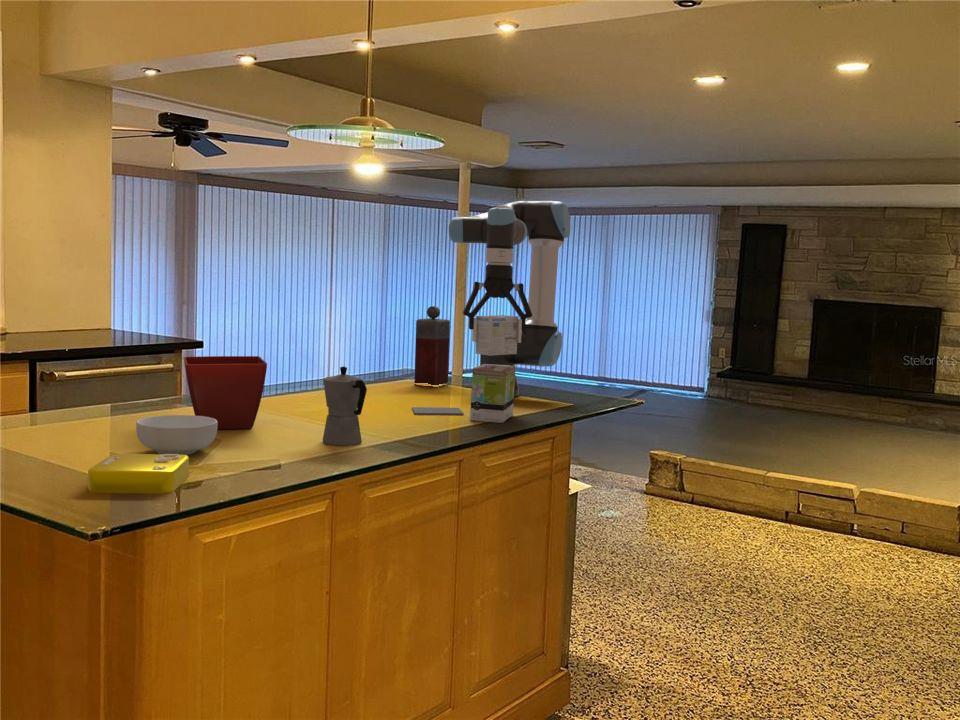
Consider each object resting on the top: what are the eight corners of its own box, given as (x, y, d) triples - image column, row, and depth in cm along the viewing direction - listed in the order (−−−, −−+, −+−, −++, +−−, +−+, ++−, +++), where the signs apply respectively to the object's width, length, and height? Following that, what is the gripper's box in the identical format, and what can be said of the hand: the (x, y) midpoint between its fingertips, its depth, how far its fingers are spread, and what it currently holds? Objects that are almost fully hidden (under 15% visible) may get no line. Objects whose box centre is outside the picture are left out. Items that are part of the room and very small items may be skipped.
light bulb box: (500, 352, 253) (502, 314, 252) (517, 354, 248) (519, 316, 247) (474, 353, 246) (475, 315, 244) (491, 356, 241) (492, 316, 240)
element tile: (112, 475, 171) (112, 450, 171) (191, 476, 172) (191, 452, 172) (84, 495, 156) (84, 468, 156) (171, 495, 157) (171, 469, 157)
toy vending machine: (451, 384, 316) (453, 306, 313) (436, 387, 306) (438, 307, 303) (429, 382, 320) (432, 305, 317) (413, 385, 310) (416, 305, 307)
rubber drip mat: (411, 408, 259) (411, 407, 259) (458, 409, 261) (458, 407, 261) (414, 414, 249) (414, 412, 249) (463, 415, 252) (463, 413, 251)
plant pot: (183, 419, 229) (183, 355, 227) (258, 418, 236) (259, 355, 234) (185, 433, 211) (185, 364, 209) (267, 431, 218) (267, 363, 216)
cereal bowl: (217, 459, 185) (217, 426, 185) (132, 462, 181) (132, 428, 180) (217, 443, 201) (217, 413, 201) (139, 445, 197) (139, 414, 196)
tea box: (505, 423, 240) (507, 369, 239) (469, 421, 242) (470, 367, 241) (514, 415, 255) (515, 364, 253) (480, 412, 257) (481, 362, 255)
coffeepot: (309, 439, 209) (310, 364, 207) (342, 435, 215) (344, 362, 214) (346, 451, 198) (348, 371, 196) (380, 446, 204) (382, 369, 202)
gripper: (457, 262, 239) (455, 342, 241) (545, 266, 243) (541, 343, 245) (454, 262, 246) (451, 339, 248) (538, 265, 250) (535, 341, 252)
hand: (496, 341), depth 247 cm, fingers closed on light bulb box, 12 cm apart
